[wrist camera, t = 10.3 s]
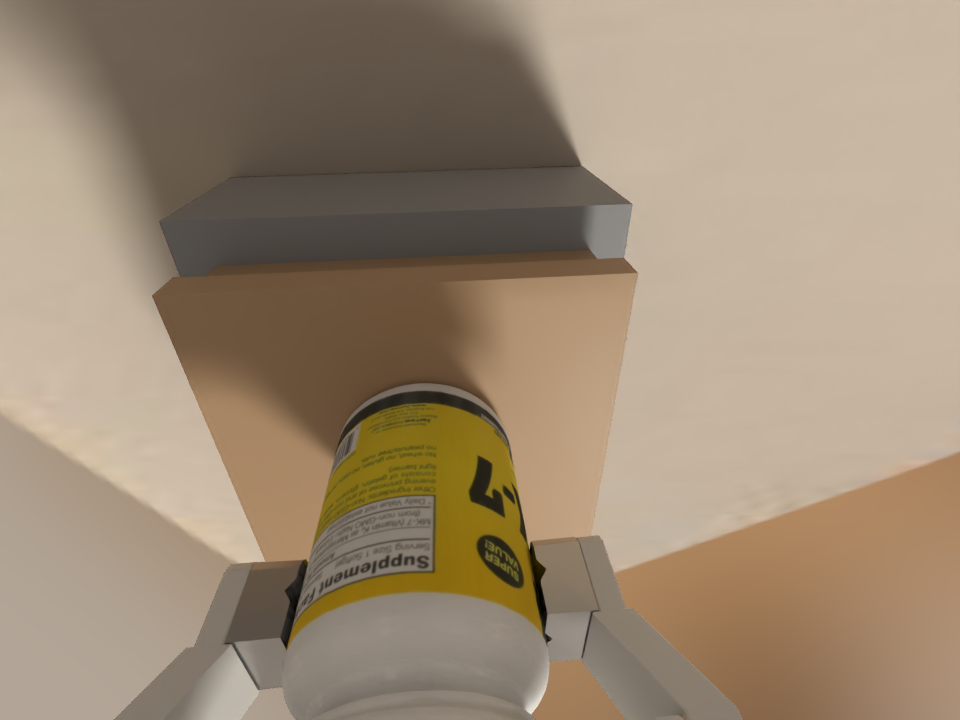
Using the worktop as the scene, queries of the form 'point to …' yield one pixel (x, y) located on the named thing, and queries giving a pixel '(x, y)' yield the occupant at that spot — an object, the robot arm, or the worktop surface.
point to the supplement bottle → (419, 572)
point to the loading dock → (401, 324)
